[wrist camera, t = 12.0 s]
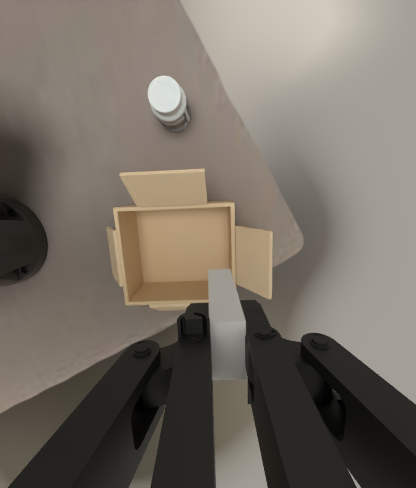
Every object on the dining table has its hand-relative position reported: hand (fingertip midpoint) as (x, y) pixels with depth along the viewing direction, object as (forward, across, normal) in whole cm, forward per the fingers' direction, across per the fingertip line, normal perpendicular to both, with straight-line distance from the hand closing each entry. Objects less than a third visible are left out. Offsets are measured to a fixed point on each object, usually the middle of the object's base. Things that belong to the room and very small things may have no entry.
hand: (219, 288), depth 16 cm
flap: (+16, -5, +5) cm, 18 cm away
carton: (+24, -5, -2) cm, 25 cm away
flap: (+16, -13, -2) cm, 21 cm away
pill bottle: (+25, -5, +18) cm, 31 cm away
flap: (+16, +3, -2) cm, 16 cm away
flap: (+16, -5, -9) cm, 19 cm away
